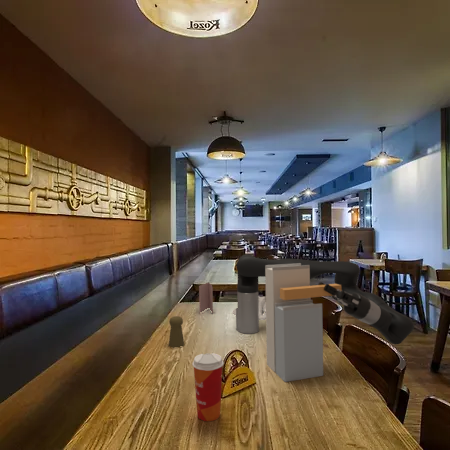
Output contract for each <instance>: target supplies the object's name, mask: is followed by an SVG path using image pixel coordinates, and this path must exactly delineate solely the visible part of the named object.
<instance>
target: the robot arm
mask: <svg viewBox="0 0 450 450" xmlns="http://www.w3.org/2000/svg"><path fill="white" fill-rule="evenodd" d="M297 263H301V266H302V265H310V280H312V279H314V278H317V277H319V276H321V275H326V274H334V281H333V282H334V284H339V285H341V290H342V291H340V290H339V289H336V288H334V287H332V286H330V285H329V284H330V283H323V282H321V281H320V282H318V284H317V285H325V284H326V285H325V287H324V291H326V292H328V293H330V294H332V295H333V296H328V297H329V298H330V299H331V300H334V301H336V302H337V303H338V304H340V305H343V310H344V312H345V313H346V314H347V315H349V316H351V317H352V318H355V319H357V320H358V321H360V322H361V323H365V324H367V325H369V326H371V327H372V328H374V329H376V330H377V331H378V332H379V333H380V334H381V335H382V336H383V337H384V338H385V340H387V342H389V343H390V344H392V345H399V344H401V343H403V342H404V340H406V339H407V337H408V336H409V335H410V334H411V333H412V332H413V331H414V330H415V324H414V321H413V320H412V319H411V318H410V317H409V316H407V315H405V314H402V313H400V312H399V311H397V310H395V309H394V308H393V307H391V306H390V305H389V304H388V303H386V301H384V300H383V299H382V297H381V296H379V295H377V294H376V293H373V292H367V291H362V290H361V288H359V286H358V281H359V277H360V272H361V267H360V266H359V265H358V264H357V263H354V262H352V261H343V260H337V261H336V260H334V261H333V260H332V261H330V260H329V261H328V260H327V261H325V260H323V261H322V260H309V259H302V258H301V259H300V258H277V259H266V258H259V257H256V256H254V255H253V254H251V253H250V254H249V253H247V254H243V255H241V256H240V257H239V258H238V259H237V262H236V265H235V266H236V267H235V268H236V270H237V284H236V285H237V286H236V287H237V288H236V291H237V307H236V308H235V309H236V316H235V330H236V331H238V332H239V333H242V334H257V333H258V332H260V320H259V297H258V296H259V278H260V277H263V278H264V277H265V265H279V264H297ZM265 278H266V277H265Z"/></svg>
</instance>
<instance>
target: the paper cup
mask: <svg viewBox="0 0 450 450" xmlns="http://www.w3.org/2000/svg"><path fill="white" fill-rule="evenodd" d="M223 366H224V361H223V358H222V356H221V355H220V354H217V353H214V352H211V353H207V352H206V353H205V354H204V353H200V354H197V355H196V356H194V358H193V361H192V367H193V373H194V374H193V375H194V388H195V390H194V392H195V402H196V413H197V414H196V415H197V418H198V419H199V420H200V419H201V421H202V420H203V422H213V421H216V420H218V419H219V417H220V416H221V408H222V405H221V404H222V403H221V402H222V382H223V380H222V379H223Z"/></svg>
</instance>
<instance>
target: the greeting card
mask: <svg viewBox="0 0 450 450" xmlns="http://www.w3.org/2000/svg"><path fill="white" fill-rule="evenodd" d="M198 291H199V293H198V295H199V296H198V298H199V301H198V302H199V313H200V312H202V311H204V310H205V309H207V308H210V310H211V311H212V313H213V314H214V306H213V304H214V303H213V299H214V298H213V293H214V292H213V285H212V284H211V283H210V282H207V283H203V284H201V285H199V286H198ZM210 310H209V311H210ZM212 313H211V314H212Z"/></svg>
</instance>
